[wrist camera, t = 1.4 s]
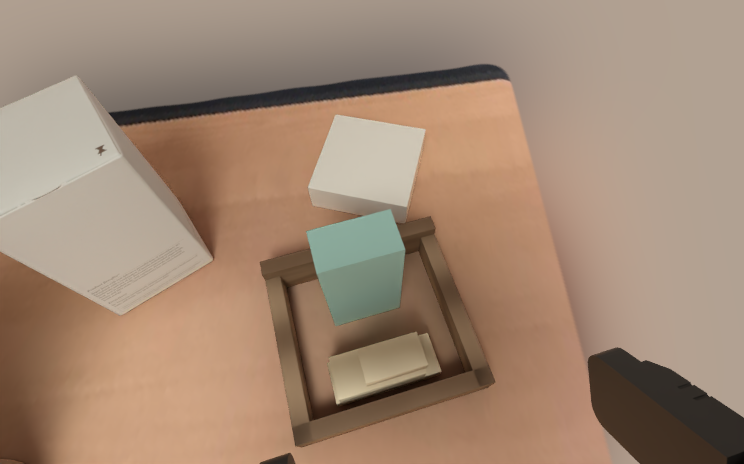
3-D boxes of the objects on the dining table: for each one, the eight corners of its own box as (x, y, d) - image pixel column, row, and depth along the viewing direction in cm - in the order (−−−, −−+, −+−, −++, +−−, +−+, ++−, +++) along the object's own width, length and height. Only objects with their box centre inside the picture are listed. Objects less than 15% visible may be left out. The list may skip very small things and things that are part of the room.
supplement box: (176, 193, 41) (79, 68, 28) (216, 261, 38) (126, 153, 24) (84, 242, 39) (-69, 130, 26) (117, 319, 35) (-41, 235, 22)
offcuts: (439, 375, 32) (446, 364, 29) (338, 406, 31) (332, 399, 28) (425, 337, 34) (431, 322, 30) (329, 366, 33) (322, 355, 29)
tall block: (399, 307, 35) (405, 249, 25) (335, 326, 34) (316, 273, 25) (388, 275, 36) (390, 209, 27) (327, 293, 36) (306, 231, 26)
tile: (312, 205, 40) (307, 187, 37) (338, 134, 44) (335, 114, 42) (405, 224, 39) (406, 207, 36) (423, 149, 43) (425, 129, 40)
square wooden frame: (487, 387, 32) (498, 379, 29) (301, 447, 30) (292, 445, 27) (426, 235, 38) (430, 216, 35) (270, 278, 37) (259, 262, 33)
